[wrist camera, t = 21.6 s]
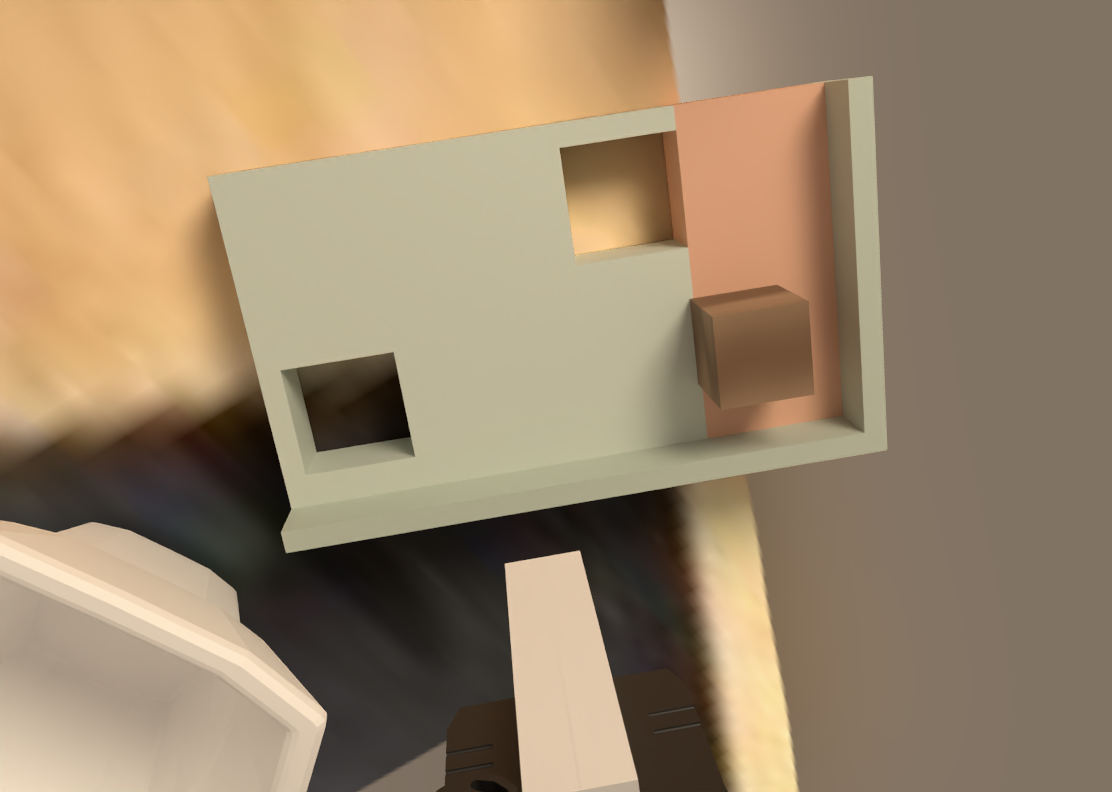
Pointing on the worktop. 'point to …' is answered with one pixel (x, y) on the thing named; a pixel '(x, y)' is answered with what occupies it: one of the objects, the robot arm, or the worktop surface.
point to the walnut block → (753, 346)
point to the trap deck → (558, 309)
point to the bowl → (138, 674)
